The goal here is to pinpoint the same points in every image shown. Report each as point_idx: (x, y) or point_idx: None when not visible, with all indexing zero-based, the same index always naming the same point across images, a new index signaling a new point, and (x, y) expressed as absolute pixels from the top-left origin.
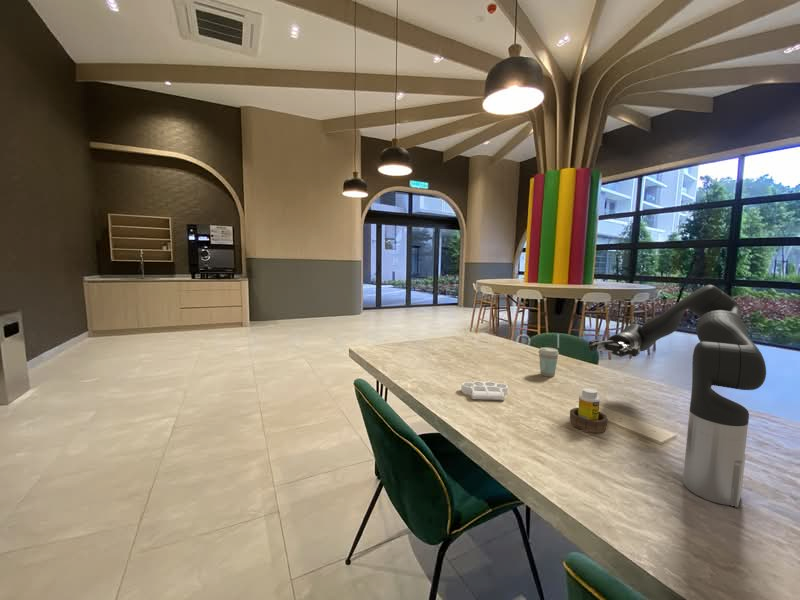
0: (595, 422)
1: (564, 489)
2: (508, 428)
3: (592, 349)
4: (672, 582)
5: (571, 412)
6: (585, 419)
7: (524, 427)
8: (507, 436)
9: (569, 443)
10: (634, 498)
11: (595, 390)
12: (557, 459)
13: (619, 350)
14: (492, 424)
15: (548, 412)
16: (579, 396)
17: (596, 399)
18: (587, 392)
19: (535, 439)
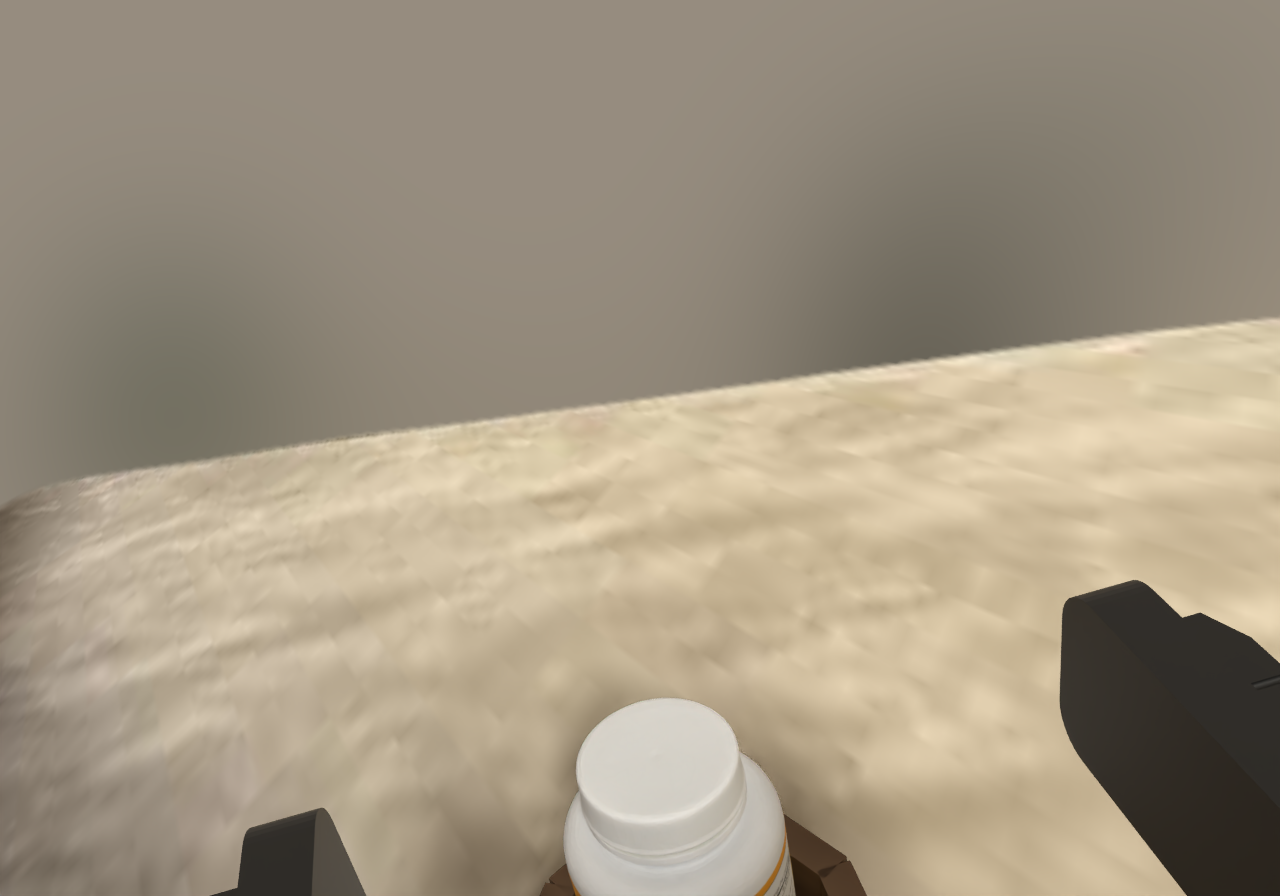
0: (554, 878)
1: (381, 483)
2: (892, 517)
3: (1062, 679)
4: (42, 494)
5: (800, 833)
6: None
7: (873, 587)
8: (807, 482)
9: (582, 687)
10: (162, 628)
11: (616, 804)
12: (516, 556)
13: (323, 812)
14: (970, 475)
15: (1095, 888)
16: (744, 754)
17: (572, 814)
18: (636, 706)
19: (716, 568)
